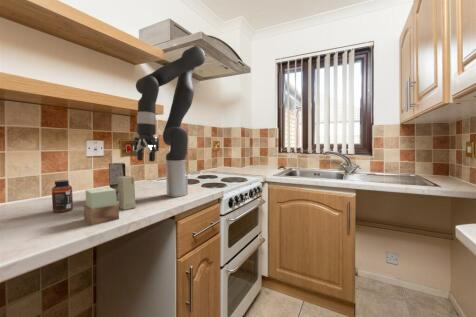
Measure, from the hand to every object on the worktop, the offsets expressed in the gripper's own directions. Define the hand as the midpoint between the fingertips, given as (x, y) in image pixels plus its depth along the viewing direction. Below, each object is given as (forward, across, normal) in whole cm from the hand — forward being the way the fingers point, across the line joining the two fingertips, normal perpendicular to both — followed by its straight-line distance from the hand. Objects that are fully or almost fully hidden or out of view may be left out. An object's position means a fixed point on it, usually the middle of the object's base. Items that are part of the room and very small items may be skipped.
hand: (145, 161), depth 96 cm
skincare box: (+18, -3, +10) cm, 21 cm away
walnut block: (+19, -9, +22) cm, 30 cm away
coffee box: (+18, +16, +3) cm, 24 cm away
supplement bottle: (+19, +13, +25) cm, 34 cm away
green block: (+14, -9, +22) cm, 27 cm away
